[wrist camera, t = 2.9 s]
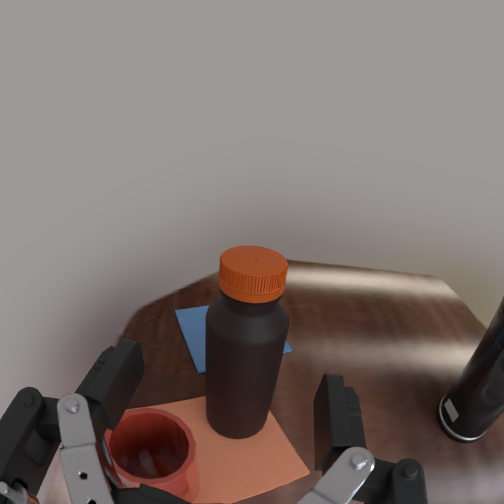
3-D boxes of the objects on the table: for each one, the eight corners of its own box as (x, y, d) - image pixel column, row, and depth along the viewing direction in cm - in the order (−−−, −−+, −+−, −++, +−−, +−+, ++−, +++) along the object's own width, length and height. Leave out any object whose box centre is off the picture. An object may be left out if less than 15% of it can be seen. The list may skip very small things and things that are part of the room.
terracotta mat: (253, 385, 35) (253, 384, 35) (309, 473, 23) (310, 472, 23) (111, 412, 27) (110, 411, 27) (136, 521, 16) (135, 521, 16)
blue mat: (252, 299, 53) (252, 298, 53) (292, 351, 41) (292, 349, 41) (174, 311, 47) (174, 310, 47) (198, 373, 36) (198, 372, 35)
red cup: (187, 447, 25) (180, 401, 21) (210, 503, 19) (208, 473, 16) (123, 458, 22) (98, 412, 18) (139, 516, 17) (111, 489, 13)
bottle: (217, 447, 26) (224, 290, 17) (199, 400, 31) (196, 243, 23) (276, 430, 28) (319, 276, 20) (252, 388, 34) (275, 237, 26)
